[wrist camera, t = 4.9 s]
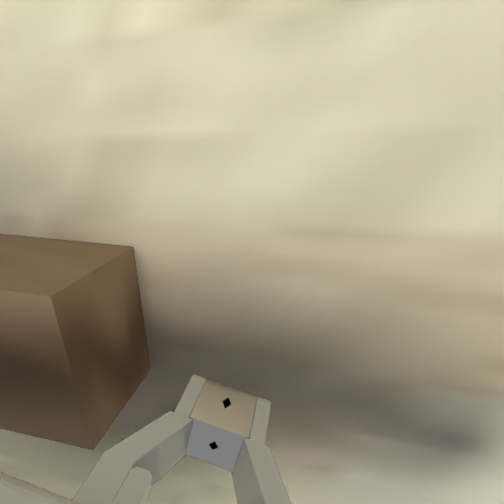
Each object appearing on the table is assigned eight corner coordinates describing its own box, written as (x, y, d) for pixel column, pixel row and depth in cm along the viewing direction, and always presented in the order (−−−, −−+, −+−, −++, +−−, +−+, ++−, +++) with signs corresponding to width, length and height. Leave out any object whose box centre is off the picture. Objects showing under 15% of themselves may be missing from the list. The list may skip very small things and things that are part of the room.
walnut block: (152, 364, 13) (93, 449, 10) (9, 340, 15) (-91, 407, 11) (136, 244, 11) (50, 296, 7) (-31, 228, 12) (-173, 266, 9)
